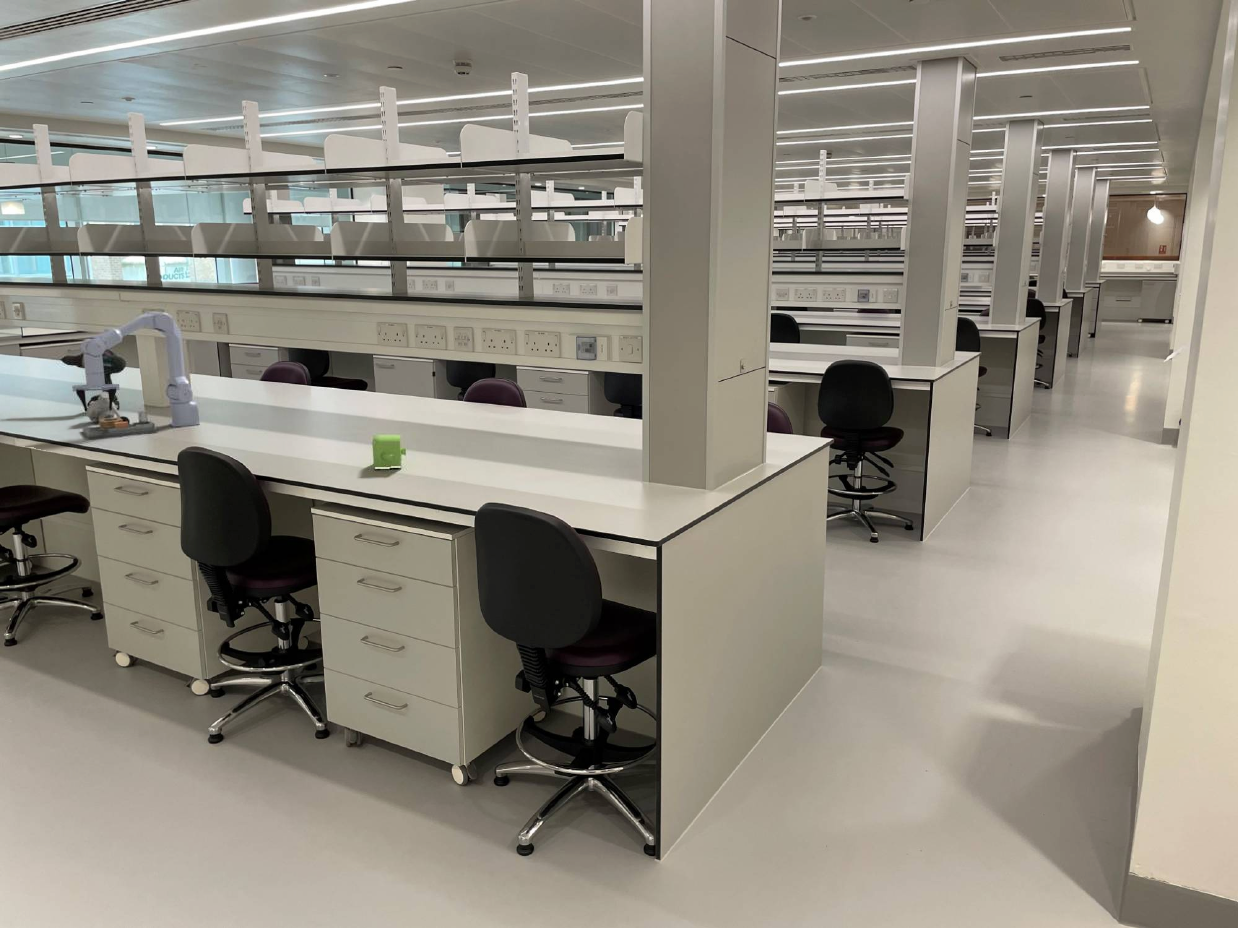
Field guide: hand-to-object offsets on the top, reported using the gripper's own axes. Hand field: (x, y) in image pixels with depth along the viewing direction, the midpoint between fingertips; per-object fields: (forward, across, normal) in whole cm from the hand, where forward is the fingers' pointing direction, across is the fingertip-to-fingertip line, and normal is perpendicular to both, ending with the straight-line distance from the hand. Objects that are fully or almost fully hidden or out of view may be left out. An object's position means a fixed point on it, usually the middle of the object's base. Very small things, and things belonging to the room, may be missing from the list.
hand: (98, 410), depth 316 cm
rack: (+8, +3, +10) cm, 13 cm away
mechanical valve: (+10, +3, +24) cm, 27 cm away
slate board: (+9, +6, +6) cm, 12 cm away
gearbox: (+9, +83, -89) cm, 122 cm away
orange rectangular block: (+8, +7, +4) cm, 11 cm away
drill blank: (+8, +14, +5) cm, 17 cm away
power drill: (+9, -2, +54) cm, 54 cm away
